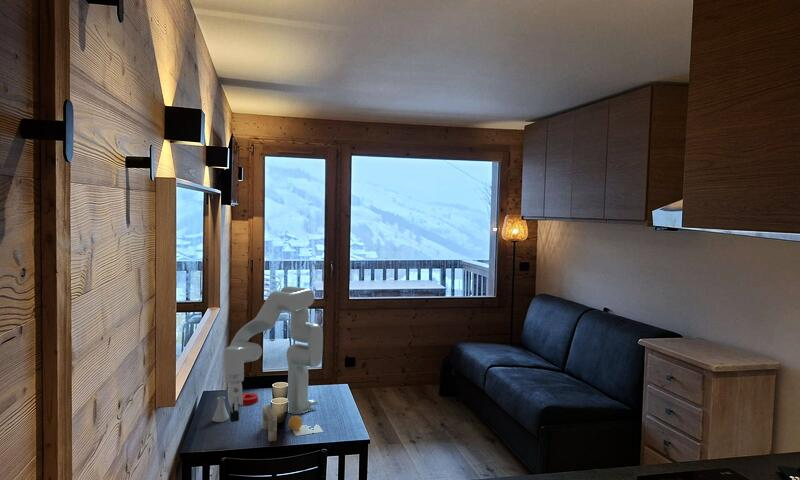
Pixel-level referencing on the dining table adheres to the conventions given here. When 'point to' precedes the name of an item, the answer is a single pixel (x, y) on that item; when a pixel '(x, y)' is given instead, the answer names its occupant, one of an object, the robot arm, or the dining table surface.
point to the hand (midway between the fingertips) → (234, 420)
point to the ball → (295, 422)
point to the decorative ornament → (250, 398)
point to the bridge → (269, 422)
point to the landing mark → (307, 430)
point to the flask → (220, 411)
